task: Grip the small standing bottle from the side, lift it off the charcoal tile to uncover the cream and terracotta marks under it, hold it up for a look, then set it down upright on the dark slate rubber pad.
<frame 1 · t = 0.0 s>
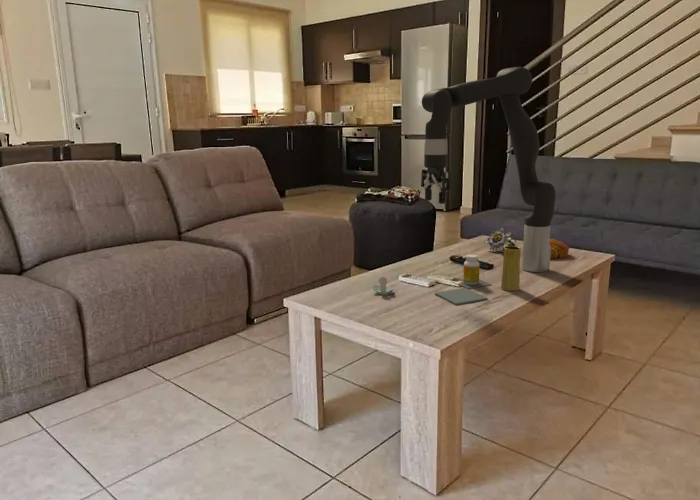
hand: (434, 201, 183), 29 cm above the table, tool pointing down, fingers open, 8 cm apart
code tile: (471, 283, 191), on the table
supplement bottle: (471, 283, 191), resting on code tile
vase: (510, 289, 184), on the table
passion flower: (500, 251, 237), on the table
croissant: (550, 256, 228), on the table
slate pad: (460, 297, 176), on the table
pacifier: (384, 293, 182), on the table
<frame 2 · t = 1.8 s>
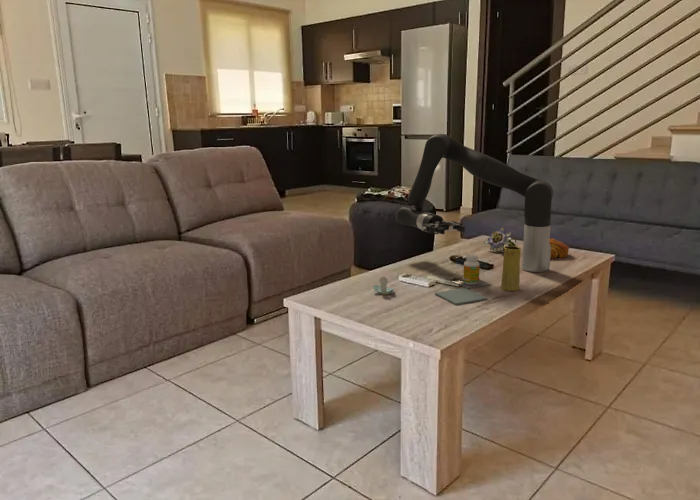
hand: (453, 230, 197), 17 cm above the table, tool horizontal, fingers open, 8 cm apart
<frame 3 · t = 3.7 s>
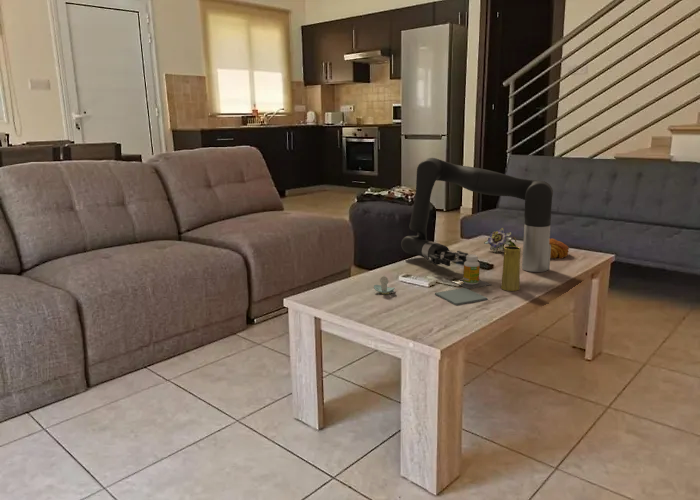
hand: (459, 262, 196), 6 cm above the table, tool horizontal, fingers open, 8 cm apart
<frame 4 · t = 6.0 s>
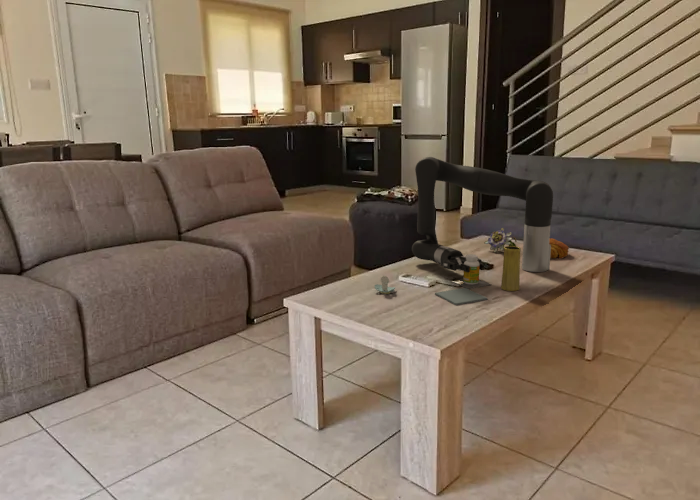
hand: (476, 268, 187), 6 cm above the table, tool horizontal, fingers closed on supplement bottle, 5 cm apart
supplement bottle: (471, 283, 191), resting on code tile, touching gripper
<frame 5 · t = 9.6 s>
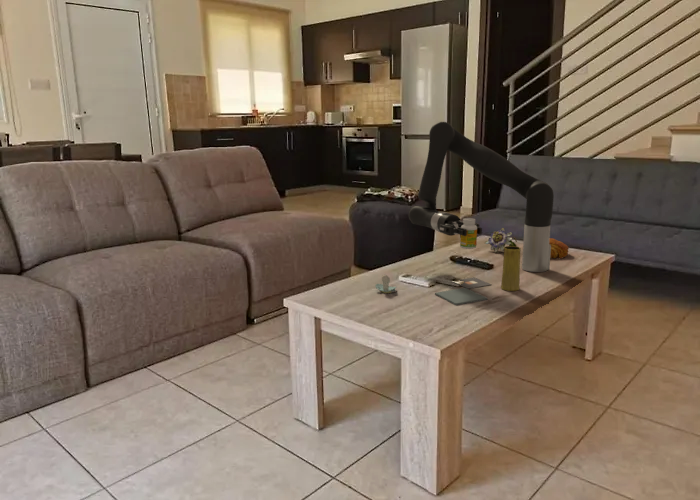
hand: (473, 232, 180), 20 cm above the table, tool horizontal, fingers closed on supplement bottle, 5 cm apart
supplement bottle: (468, 247, 184), point 14 cm above the table, touching gripper
when the fingers open (8 cm above the table, at t = 13.2 s): supplement bottle drops 1 cm, resting on slate pad.
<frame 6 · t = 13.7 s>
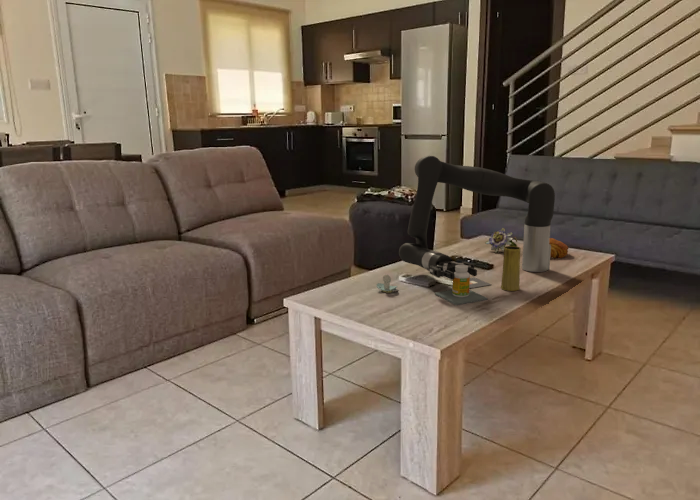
hand: (464, 274, 173), 8 cm above the table, tool horizontal, fingers open, 8 cm apart
supplement bottle: (460, 295, 177), resting on slate pad
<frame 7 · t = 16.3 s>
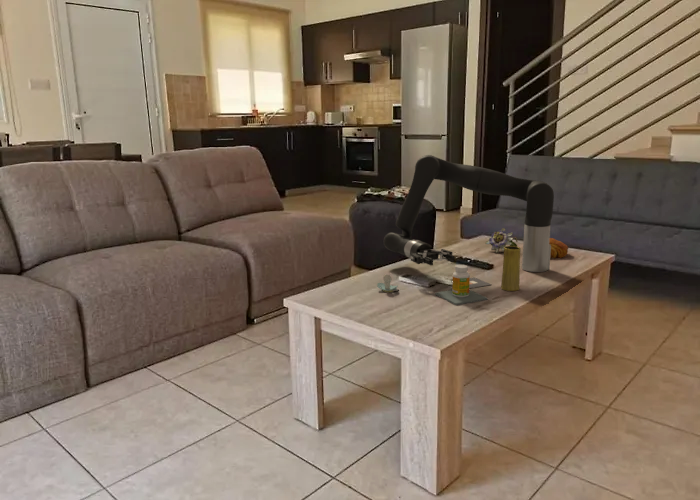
hand: (443, 260, 185), 9 cm above the table, tool horizontal, fingers open, 8 cm apart
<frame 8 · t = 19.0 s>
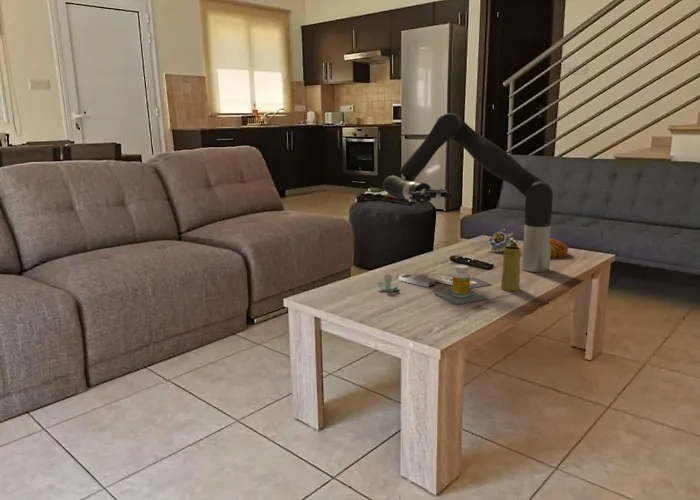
hand: (440, 197, 188), 30 cm above the table, tool horizontal, fingers open, 8 cm apart
at the end: supplement bottle inside the target area on the slate pad (0.1 cm from its centre), point 0.4 cm above the slate pad's base; supplement bottle tilted 0°; the gripper is holding nothing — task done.
